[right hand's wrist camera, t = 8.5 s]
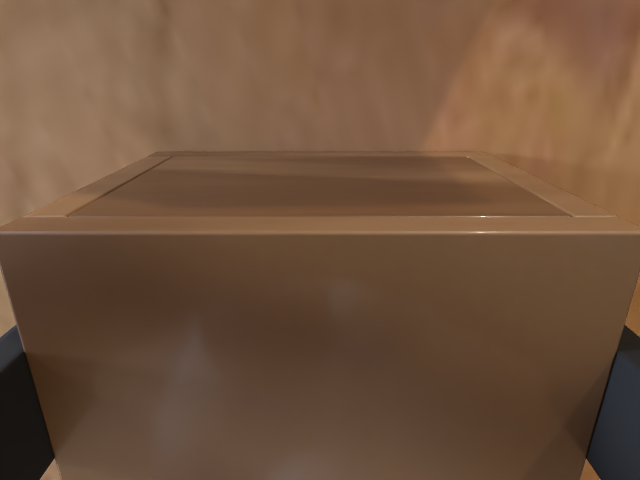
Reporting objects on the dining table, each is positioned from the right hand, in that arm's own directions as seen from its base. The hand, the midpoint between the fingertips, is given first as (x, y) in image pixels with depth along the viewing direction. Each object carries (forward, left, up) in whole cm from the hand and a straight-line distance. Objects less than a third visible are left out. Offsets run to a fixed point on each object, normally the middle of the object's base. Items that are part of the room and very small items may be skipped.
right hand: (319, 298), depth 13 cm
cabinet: (+3, -6, -4) cm, 8 cm away
